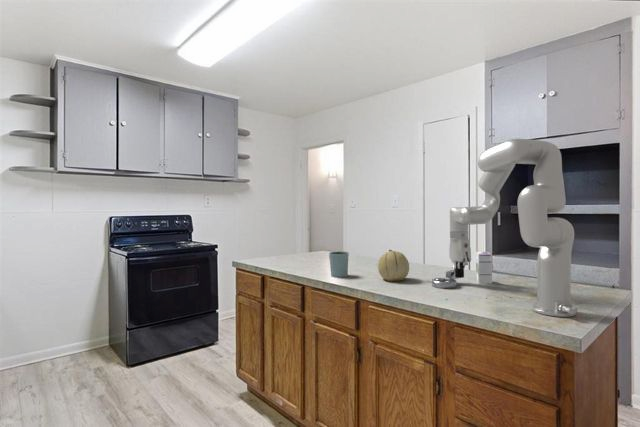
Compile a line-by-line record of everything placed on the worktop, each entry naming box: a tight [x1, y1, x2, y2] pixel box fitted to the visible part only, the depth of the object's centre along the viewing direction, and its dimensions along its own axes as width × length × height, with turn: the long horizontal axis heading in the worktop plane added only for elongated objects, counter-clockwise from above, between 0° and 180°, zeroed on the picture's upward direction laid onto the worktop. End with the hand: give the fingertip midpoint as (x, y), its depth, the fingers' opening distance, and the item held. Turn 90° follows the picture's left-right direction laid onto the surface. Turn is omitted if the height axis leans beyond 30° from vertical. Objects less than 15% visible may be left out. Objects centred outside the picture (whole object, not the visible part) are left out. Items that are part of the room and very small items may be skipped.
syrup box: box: [475, 251, 493, 285], centre depth 169 cm, size 6×6×14 cm
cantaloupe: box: [377, 249, 410, 282], centre depth 177 cm, size 15×15×15 cm
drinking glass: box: [328, 251, 350, 278], centre depth 193 cm, size 10×10×12 cm
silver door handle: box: [431, 264, 459, 290], centre depth 164 cm, size 17×10×8 cm, turn 135°
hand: (459, 277), depth 165 cm, fingers closed
